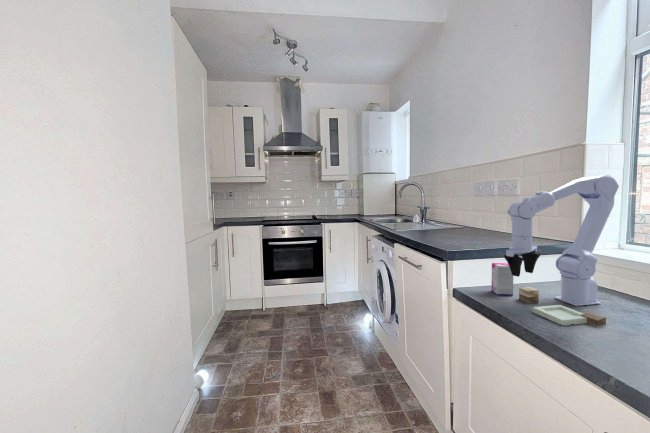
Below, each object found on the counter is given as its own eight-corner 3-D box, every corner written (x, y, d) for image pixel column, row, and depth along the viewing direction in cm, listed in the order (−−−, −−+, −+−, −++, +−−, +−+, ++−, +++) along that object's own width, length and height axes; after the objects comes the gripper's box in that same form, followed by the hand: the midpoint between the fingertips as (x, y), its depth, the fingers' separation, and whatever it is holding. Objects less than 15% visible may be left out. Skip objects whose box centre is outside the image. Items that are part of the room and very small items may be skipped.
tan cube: (528, 298, 101) (528, 286, 101) (538, 302, 97) (538, 290, 97) (519, 299, 101) (519, 287, 101) (528, 303, 97) (528, 291, 97)
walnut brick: (588, 318, 83) (588, 311, 83) (605, 324, 79) (606, 317, 79) (580, 321, 82) (580, 314, 81) (598, 327, 78) (598, 320, 78)
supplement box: (514, 296, 104) (513, 266, 104) (496, 295, 105) (496, 266, 105) (507, 291, 110) (507, 262, 109) (490, 290, 111) (490, 262, 110)
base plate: (560, 309, 90) (560, 304, 90) (593, 322, 80) (593, 317, 80) (532, 312, 89) (532, 307, 89) (562, 325, 79) (562, 320, 79)
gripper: (522, 233, 103) (522, 268, 104) (497, 236, 97) (497, 274, 98) (543, 234, 96) (544, 272, 97) (518, 238, 91) (518, 279, 91)
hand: (522, 274), depth 97 cm, fingers open, 7 cm apart
